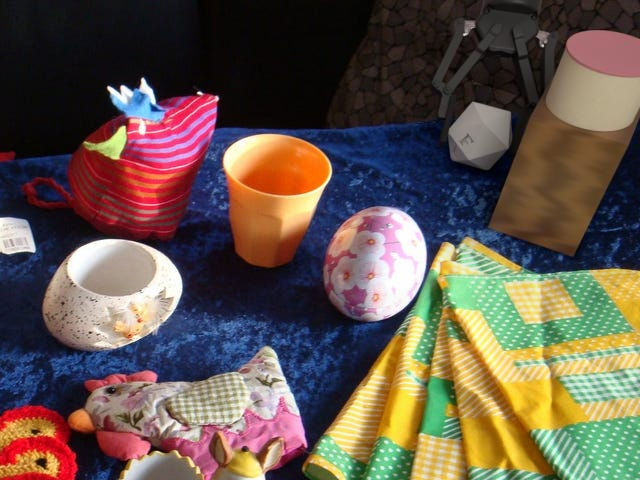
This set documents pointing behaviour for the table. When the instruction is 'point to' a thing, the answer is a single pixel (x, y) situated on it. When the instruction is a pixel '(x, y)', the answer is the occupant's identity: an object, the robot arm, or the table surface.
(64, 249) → the table surface
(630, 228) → the table surface
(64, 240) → the table surface
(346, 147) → the table surface
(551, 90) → the yogurt
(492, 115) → the die
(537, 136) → the brown piece
